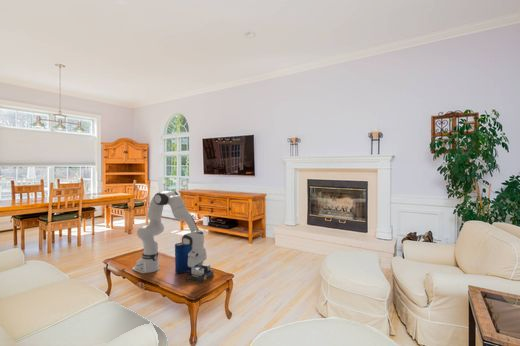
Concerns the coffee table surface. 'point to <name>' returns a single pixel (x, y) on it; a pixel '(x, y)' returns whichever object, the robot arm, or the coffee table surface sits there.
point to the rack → (207, 274)
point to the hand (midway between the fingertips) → (197, 268)
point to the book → (182, 258)
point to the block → (198, 272)
